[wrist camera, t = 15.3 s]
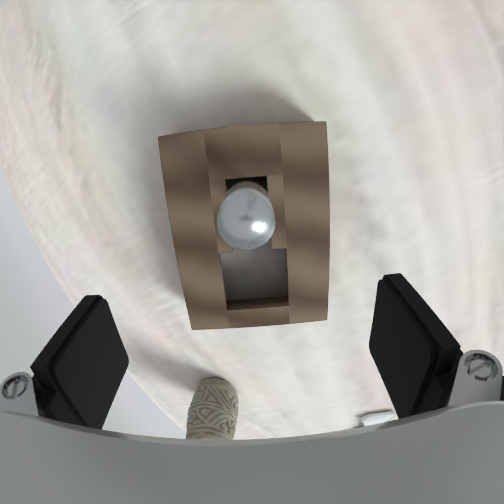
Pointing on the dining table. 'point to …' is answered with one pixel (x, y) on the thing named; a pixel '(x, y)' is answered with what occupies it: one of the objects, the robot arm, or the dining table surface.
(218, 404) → the carving
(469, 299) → the dining table surface
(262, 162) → the keyhole board
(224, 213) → the keyhole peg
